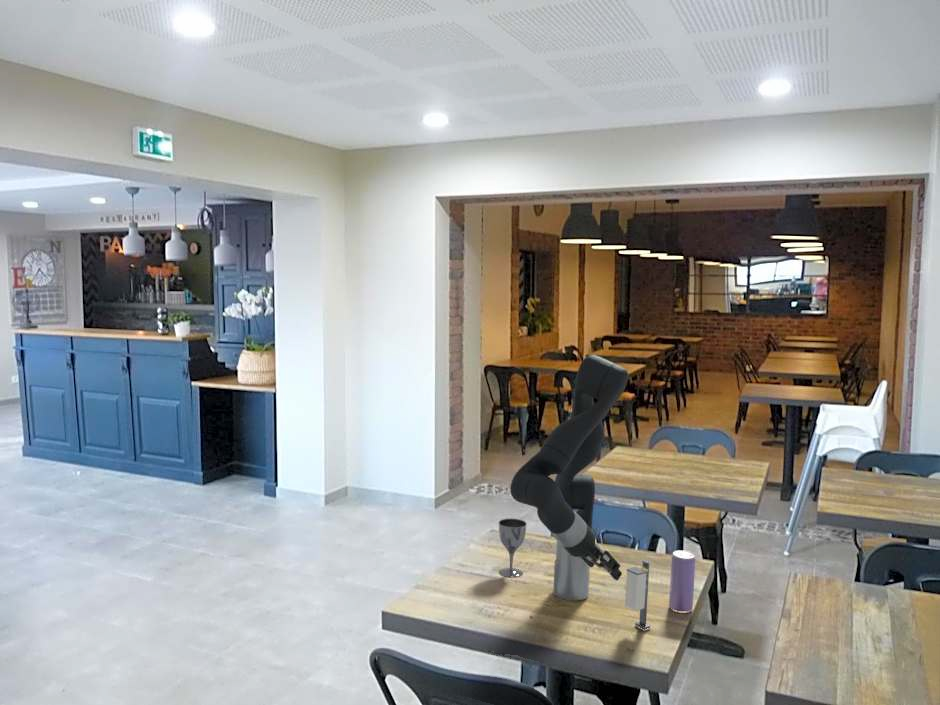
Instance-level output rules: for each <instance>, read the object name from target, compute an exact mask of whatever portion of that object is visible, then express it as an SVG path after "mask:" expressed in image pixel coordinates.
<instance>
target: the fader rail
mask: <svg viewBox="0 0 940 705" xmlns="http://www.w3.org/2000/svg"><path fill="white" fill-rule="evenodd" d="M640 569H642V570H644V571H647V573H646V587H645V605H644V609H640V610H639V621H636V622H635V624H634V626H635V625H636V626H638V627H640V628H642V629H644V630H645V629H647V628H650V629H651V625H649V624H648V623H647V613H648V597H649V596H648V593H649V575H650V574H649V573H650V562H649V561H646V560H643V561H642V565H641V568H640Z"/></svg>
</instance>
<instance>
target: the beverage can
mask: <svg viewBox="0 0 940 705" xmlns="http://www.w3.org/2000/svg"><path fill="white" fill-rule="evenodd" d="M695 571H696V555H695V554H694V553H693V552H691V551H687V550H675V551H673V552H672V555H671V565H670V581H669V582H670V583H669V599H668V600H669V601H668V607H669V608H672V609H674V610H677V611H690V610H691V611H693V605H694V591H695V590H694V589H695V573H696V572H695Z"/></svg>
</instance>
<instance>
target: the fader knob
mask: <svg viewBox="0 0 940 705" xmlns="http://www.w3.org/2000/svg"><path fill="white" fill-rule="evenodd" d="M646 573H647V571H644V570H642V569H641V568H639V567H637V566H633V567H630V568H629V567H628V568H626V582H625V584H626V585H625V598H624V599H625V601H624V603H625V604H624V605H625V607H627V608H629V609H631V610H633V611H634V612H636V611H640V609H644V605H645V587H646Z"/></svg>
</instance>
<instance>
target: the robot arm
mask: <svg viewBox="0 0 940 705" xmlns="http://www.w3.org/2000/svg"><path fill="white" fill-rule="evenodd" d="M628 380H629V372H628V370H627V369H626V368H624V367H622V366H620V365H619V364H617V363H615V362H613V361H610V360H608V359H606V358H603V357H601V356H598V355H595V354H589V355H587V356H585V357H584V358H583V359H582V361H581V363H580V365H579V367H578V369H577V374H576V376H575V382H574V391H573V392H574V393H573V403H572V409H571V410H572V411H571V414H570V418H569V419H567V420H565V421H563V422H561V423H560V424H558V425H557V426H556V427H555V428H554V429H553V430H552V431H551V432H550V434H549V435H548V436H547V438H546V440H545V441H544V442H543V445H542V446H541V448H540V449H539V451H538V452H537V453H535V454H534V455H533V456H532V457H531V458H530V459H528V461H527V462H526V463H525V464H523V465H522V466H521V467H520V468H519V469H518V470H517V471H516V473H515V474H514V476H513V478H512V480H511V483H510V494H511V496H512V498H513V499H514V500H515V501H516V502H518V503H520V504H524V505H527V506H531V507H533V508H536V509H537V511H536V513H537V517H538V518H539V520H540V522H541V523H542V524H543V526H544V527H546V528H547V530H548V531H549V532H550V533H551V535H552V537H553V538H554V539H555V540H556V548H555V549H556V553H555V560H554V566H553V568H554V569H553V570H554V571H553V588H552V591H553V593H552V595H553V597H558V598H560V599H563V600H567V601H574V602H575V601H583V600H585V599H587V598H588V597H589V592H590V575H591V574H590V572H591V570H590V568H594V566H596V567H598V568H602V569H603V570H605V571H606V572H607V573H608V575H610V576H611V578H613V580H615V581H619V579H620V578H621V576H622V574H623V573H622V571H621V570H620V567H621V564H620V563H619V562H618V561H617V560H616V559H615V558H614V557H613V556H612V555H611V553H610V552H609V551H607V550H603V549H602V548H600V545H598V544H596V534H595V532H594V531H593V529H592V528H593V518H594V507H595V500H596V485H595V481H594V478H593V477H592V475H590V474H580V472H581V471H583V470H584V469H585V468H587V467H588V466H589V465H590V464H592V463H593V462H595V460H596V459H597V458H598V456H599V455H600V454H601V450H602V446H603V444H604V443H603V442H604V439H605V428H604V424H603V421H602V420H603V419H604V418H605V417H606V415H607V414H608V413H609V412H610V410H611V409H612V408H613V407H614V406H615V404H616V403H617V402H618V400H619V399H620V398H621V396H622V395H623V393H624V392H625V389H626V387H627V385H628V382H629V381H628ZM594 399H596V400H597V401H596V402H595V401H594ZM553 475H556V477H555V480H554V479H553V478H552V477H550V476H553ZM575 510H577V511H575ZM598 561H600V562H598Z"/></svg>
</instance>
